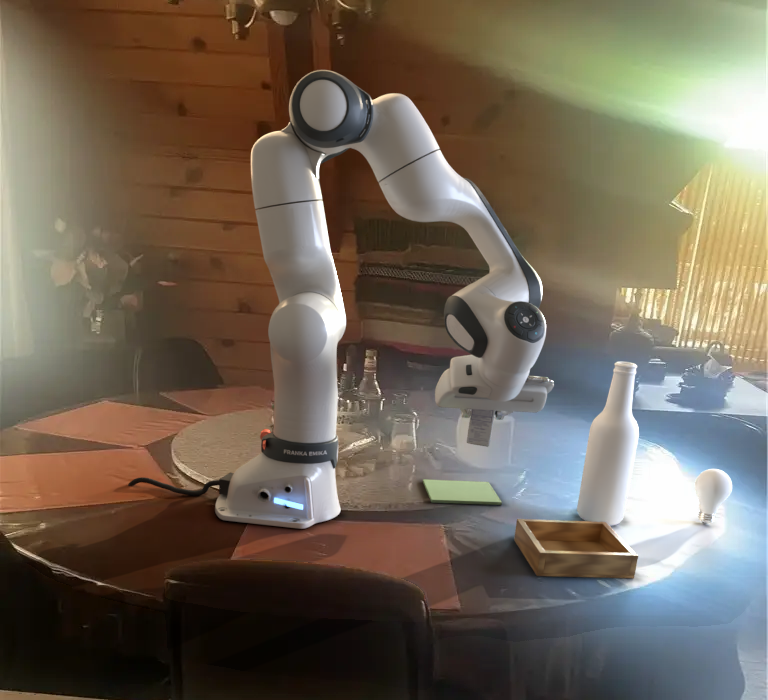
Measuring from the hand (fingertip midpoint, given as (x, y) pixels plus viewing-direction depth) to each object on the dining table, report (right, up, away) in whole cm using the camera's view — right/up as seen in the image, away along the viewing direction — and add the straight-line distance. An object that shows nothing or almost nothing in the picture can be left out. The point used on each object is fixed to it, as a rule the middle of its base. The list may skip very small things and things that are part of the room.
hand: (481, 415), depth 145 cm
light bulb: (+44, -21, +2) cm, 49 cm away
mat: (-3, -15, +8) cm, 18 cm away
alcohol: (+23, -20, +1) cm, 30 cm away
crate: (+13, -25, -19) cm, 34 cm away
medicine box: (0, -5, +1) cm, 5 cm away
